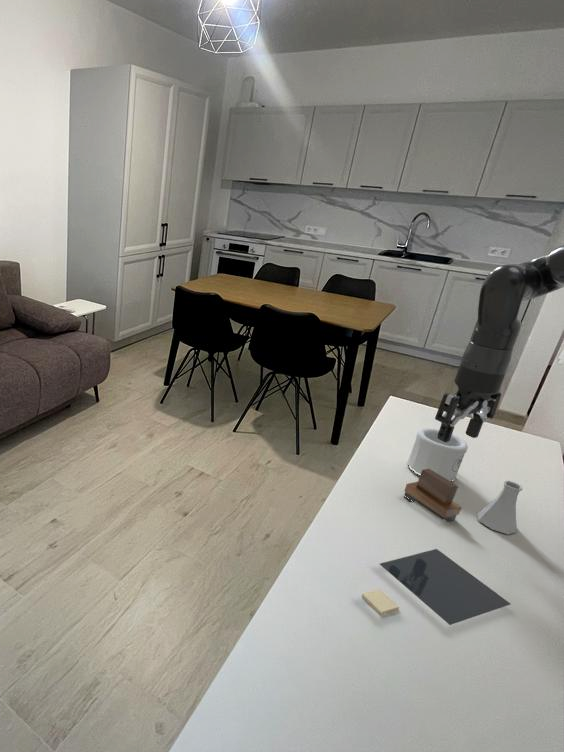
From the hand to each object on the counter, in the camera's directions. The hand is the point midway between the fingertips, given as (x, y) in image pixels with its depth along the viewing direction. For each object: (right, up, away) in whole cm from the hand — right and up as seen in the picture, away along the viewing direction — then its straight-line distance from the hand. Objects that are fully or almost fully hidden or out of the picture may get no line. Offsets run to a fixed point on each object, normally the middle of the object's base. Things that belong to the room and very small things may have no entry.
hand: (457, 438), depth 104 cm
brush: (-2, -16, +7) cm, 18 cm away
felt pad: (-28, -26, -21) cm, 43 cm away
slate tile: (-14, -25, -16) cm, 32 cm away
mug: (+9, -11, +23) cm, 27 cm away
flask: (+11, -19, +3) cm, 22 cm away
